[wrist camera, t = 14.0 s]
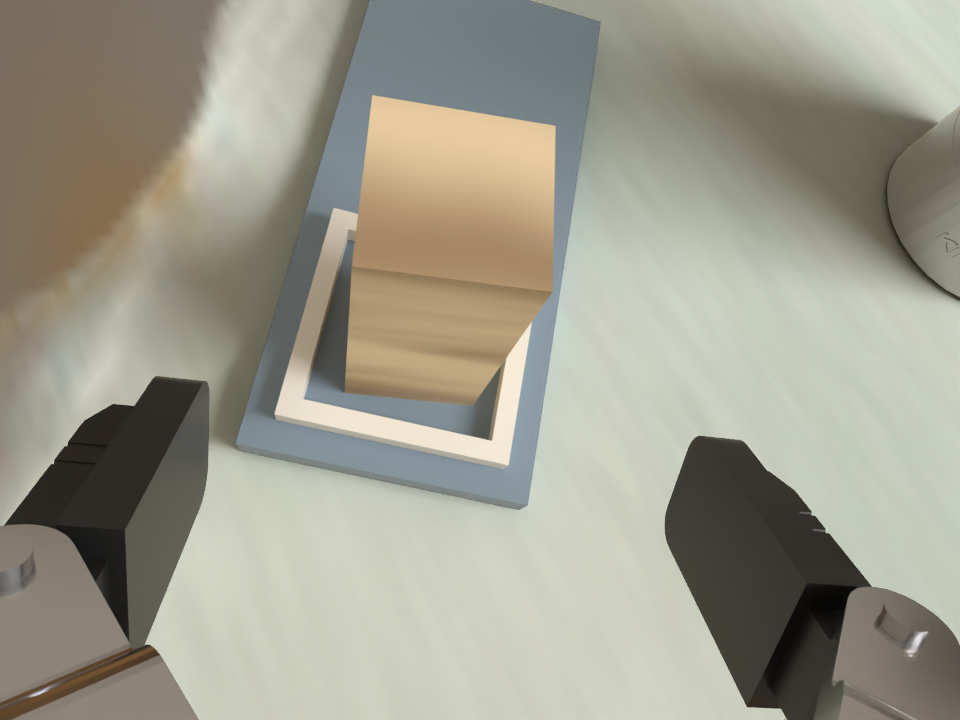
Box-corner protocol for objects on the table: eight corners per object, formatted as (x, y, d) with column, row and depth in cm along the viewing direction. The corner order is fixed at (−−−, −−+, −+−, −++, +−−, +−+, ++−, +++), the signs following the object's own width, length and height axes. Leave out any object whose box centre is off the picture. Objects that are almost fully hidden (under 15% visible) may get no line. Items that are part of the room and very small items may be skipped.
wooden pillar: (357, 275, 26) (372, 94, 17) (478, 290, 27) (555, 125, 18) (344, 393, 25) (351, 266, 16) (472, 405, 26) (552, 291, 16)
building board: (381, -22, 32) (384, -60, 31) (591, 41, 34) (606, 8, 32) (239, 450, 25) (232, 438, 23) (519, 509, 26) (533, 502, 24)
